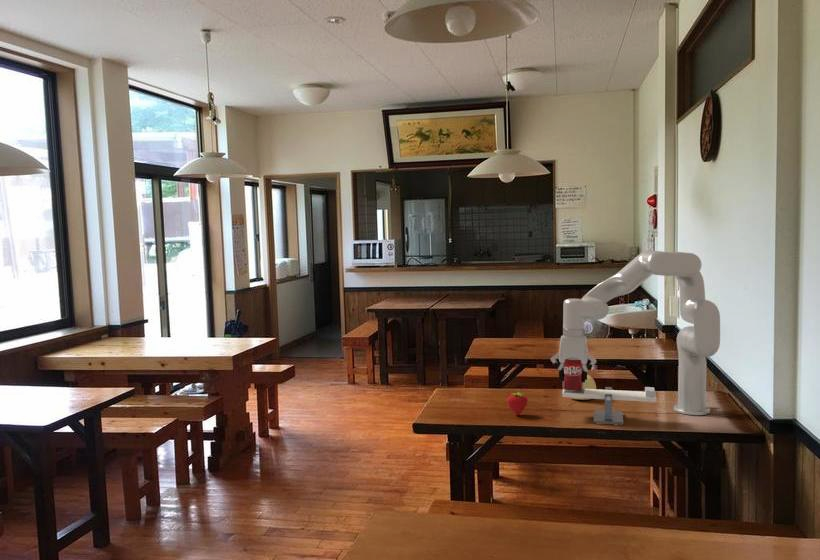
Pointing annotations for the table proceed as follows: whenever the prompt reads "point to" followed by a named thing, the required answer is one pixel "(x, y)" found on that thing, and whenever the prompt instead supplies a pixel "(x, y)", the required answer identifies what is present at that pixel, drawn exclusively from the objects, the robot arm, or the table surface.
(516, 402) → the strawberry
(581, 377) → the soda can
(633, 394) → the beam
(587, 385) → the sculpture
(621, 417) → the fulcrum stand
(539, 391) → the table surface
